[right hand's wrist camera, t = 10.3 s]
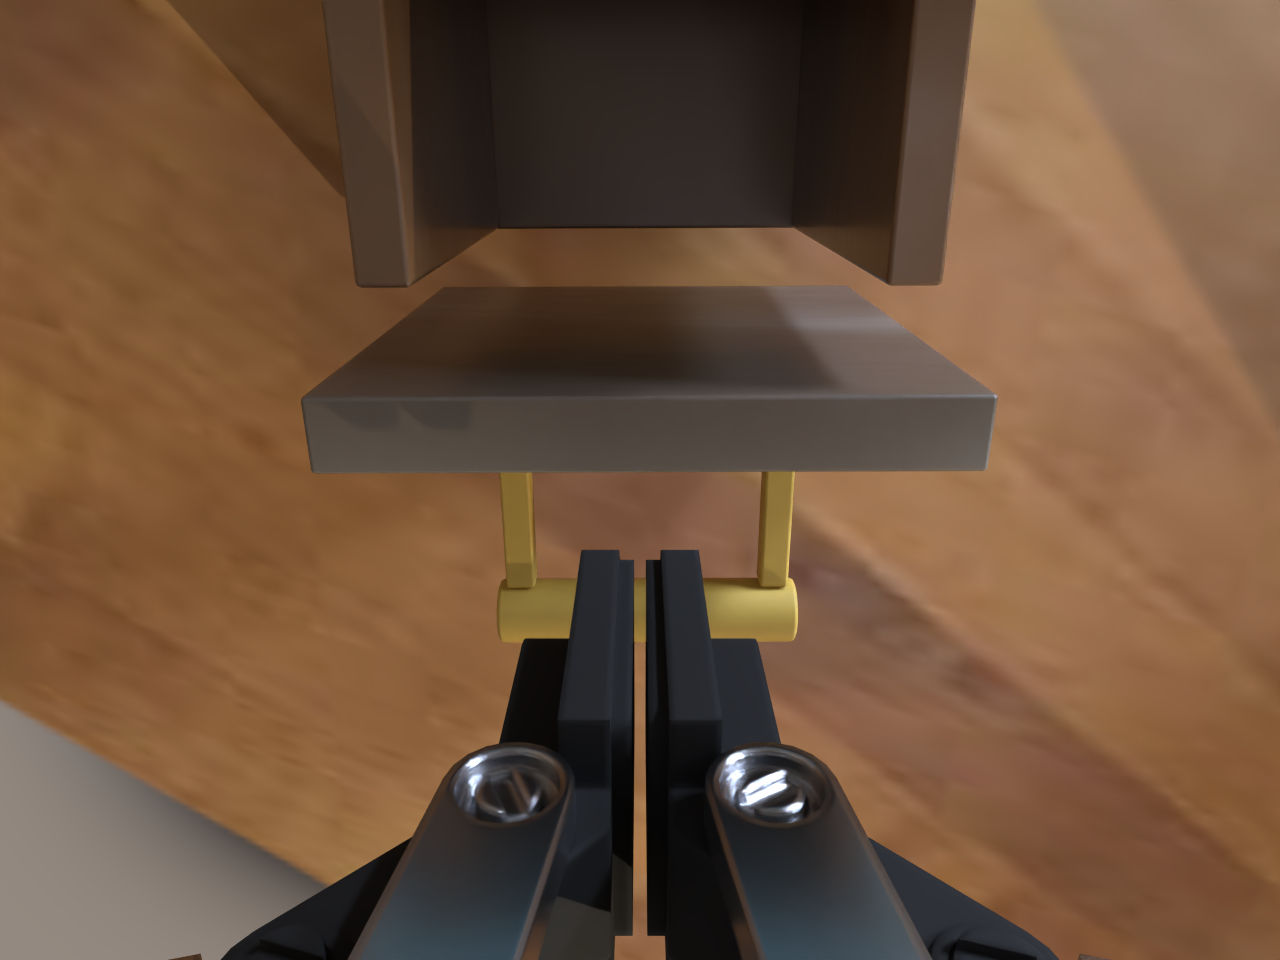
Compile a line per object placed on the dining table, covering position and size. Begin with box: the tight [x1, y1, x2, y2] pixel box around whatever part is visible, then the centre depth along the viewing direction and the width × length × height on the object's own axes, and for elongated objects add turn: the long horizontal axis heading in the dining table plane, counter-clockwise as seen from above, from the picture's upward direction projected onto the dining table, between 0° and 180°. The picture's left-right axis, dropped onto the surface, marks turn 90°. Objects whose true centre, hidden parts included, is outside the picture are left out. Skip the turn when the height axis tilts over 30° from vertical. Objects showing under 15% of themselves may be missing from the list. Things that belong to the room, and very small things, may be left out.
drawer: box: [301, 0, 998, 642], centre depth 16 cm, size 20×10×10 cm, turn 0°
